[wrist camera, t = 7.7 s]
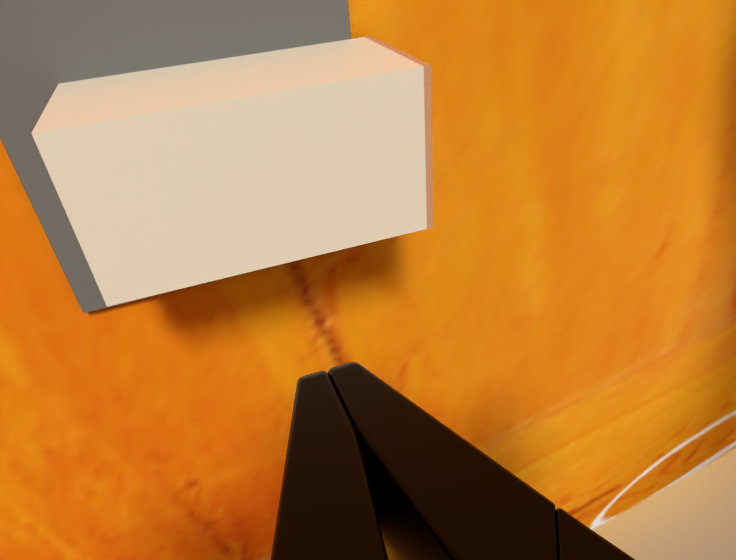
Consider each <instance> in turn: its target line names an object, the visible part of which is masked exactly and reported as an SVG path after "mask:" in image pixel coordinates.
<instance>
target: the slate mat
mask: <svg viewBox="0 0 736 560" xmlns="http://www.w3.org/2000/svg"><path fill="white" fill-rule="evenodd" d="M348 39H351V32H350V21H349V11H348V0H0V138H1V141H2V143H3V145H4V147H5V149H6V151H7V153H8V155H9V157H10V159H11V162H12V164H13V166H14V168H15V170H16V172H17V174H18V176H19V178H20V181H21V183H22V185H23V187H24V189H25V191H26V193H27V195H28V197H29V199H30V202H31V204H32V206H33V208H34V210H35V212H36V214H37V216H38V218H39V220H40V223H41V225H42V227H43V229H44V231H45V233H46V235H47V237H48V239H49V242H50V244H51V246H52V248H53V250H54V252H55V254H56V256H57V258H58V260H59V263H60V265H61V267H62V269H63V271H64V273H65V275H66V277H67V279H68V281H69V284H70V286H71V288H72V290H73V292H74V294H75V296H76V298H77V300H78V302H79V305H80V307H81V309H82V311H83V313H87V312H91V311H95V310H99V309H103V308H107V306H106V303H105V301H104V299H103V296H102V294H101V292H100V290H99V287H98V285H97V283H96V280H95V278H94V276H93V273H92V271H91V269H90V267H89V264H88V262H87V260H86V257H85V255H84V253H83V251H82V248H81V246H80V244H79V241H78V239H77V237H76V234H75V232H74V230H73V228H72V225H71V223H70V221H69V218H68V216H67V214H66V212H65V209H64V207H63V205H62V202H61V200H60V198H59V196H58V193H57V191H56V189H55V186H54V184H53V182H52V179H51V177H50V175H49V173H48V170H47V168H46V166H45V163H44V161H43V159H42V157H41V154H40V152H39V150H38V147H37V145H36V143H35V141H34V138H33V136H32V134H31V133H32V131H33V129H34V127H35V126H36V124H37V122H38V120H39V118H40V116H41V115H42V113H43V111H44V109H45V107H46V106H47V104H48V102H49V100H50V98H51V96H52V95H53V93H54V91H55V89H56V87H57V86H58V84H59V83H66V82H72V81H79V80H85V79H92V78H99V77H105V76H112V75H118V74H125V73H131V72H138V71H144V70H151V69H158V68H164V67H171V66H177V65H184V64H190V63H197V62H204V61H210V60H217V59H223V58H230V57H236V56H243V55H250V54H256V53H263V52H269V51H276V50H282V49H289V48H295V47H302V46H309V45H315V44H322V43H328V42H335V41H341V40H348ZM321 255H322V254H321ZM317 256H318V255H317ZM313 257H314V256H313ZM309 258H310V257H309ZM305 259H306V258H305ZM284 264H285V263H284ZM280 265H281V264H280ZM276 266H277V265H276ZM272 267H273V266H272ZM268 268H269V267H268ZM264 269H265V268H264ZM260 270H261V269H260ZM256 271H257V270H256ZM252 272H253V271H252ZM248 273H249V272H248ZM243 274H245V273H243ZM239 275H241V274H239ZM235 276H237V275H235ZM231 277H233V276H231ZM227 278H228V277H227ZM223 279H224V278H223ZM219 280H220V279H219ZM215 281H216V280H215ZM211 282H212V281H211ZM207 283H208V282H207ZM202 284H204V283H202ZM198 285H200V284H198ZM194 286H196V285H194ZM190 287H192V286H190ZM186 288H188V287H186ZM182 289H184V288H182ZM178 290H180V289H178ZM174 291H176V290H174ZM170 292H172V291H170ZM165 293H168V292H165ZM161 294H164V293H161ZM157 295H160V294H157ZM153 296H156V295H153ZM149 297H151V296H149ZM145 298H147V297H145ZM141 299H143V298H141ZM137 300H139V299H137ZM133 301H135V300H133ZM129 302H131V301H129ZM124 303H127V302H124ZM120 304H123V303H120ZM116 305H119V304H116ZM112 306H115V305H112ZM108 307H111V306H108Z"/></svg>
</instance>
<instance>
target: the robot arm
mask: <svg viewBox="0 0 736 560" xmlns="http://www.w3.org/2000/svg"><path fill="white" fill-rule="evenodd" d="M271 560H635V559H633V558H632V557H630V556H629V555H627V554H626V553H625V552H623V551H622V550H620V549H619V548H617V547H616V546H614V545H613V544H611V543H610V542H608V541H607V540H605V539H604V538H603V537H601V536H599V535H598V534H597V533H595V532H594V531H592V530H591V529H589V528H588V527H586V526H585V525H584V524H582V523H581V522H579V521H578V520H577V519H575V518H574V517H573V516H571V515H570V514H568V513H567V512H566V511H564V510H563V509H561V508H558V509H557V510H556V508H555V504H554V503H553V502H551V501H550V500H549V499H547V498H546V497H544V496H543V495H542V494H540V493H539V492H537V491H536V490H535V489H533V488H532V487H530V486H529V485H528V484H526V483H525V482H523V481H522V480H521V479H519V478H518V477H516V476H515V475H514V474H512V473H511V472H509V471H508V470H507V469H505V468H504V467H502V466H501V465H500V464H498V463H497V462H495V461H494V460H493V459H491V458H490V457H488V456H487V455H486V454H484V453H483V452H481V451H480V450H479V449H477V448H476V447H474V446H473V445H472V444H470V443H469V442H467V441H466V440H465V439H463V438H462V437H460V436H459V435H458V434H456V433H455V432H454V431H452V430H451V429H449V428H448V427H447V426H445V425H444V424H442V423H441V422H440V421H438V420H437V419H435V418H434V417H433V416H431V415H430V414H428V413H427V412H426V411H424V410H423V409H421V408H420V407H419V406H417V405H416V404H414V403H413V402H412V401H410V400H409V399H407V398H406V397H405V396H403V395H402V394H400V393H399V392H398V391H396V390H395V389H393V388H392V387H391V386H389V385H388V384H386V383H385V382H384V381H382V380H381V379H379V378H378V377H377V376H375V375H374V374H372V373H371V372H370V371H368V370H367V369H365V368H364V367H363V366H361V365H360V364H358V363H356V362H350V363H346V364H343V365H340V366H336V367H333V368H331V369H330V370H329V371H328V373H327V372H326V371H319V372H316V373H313V374H309V375H306V376H303V377H300V378H299V380H298V382H297V387H296V394H295V401H294V407H293V414H292V420H291V427H290V434H289V440H288V447H287V454H286V460H285V467H284V474H283V480H282V487H281V494H280V500H279V507H278V513H277V520H276V527H275V533H274V540H273V547H272V553H271Z"/></svg>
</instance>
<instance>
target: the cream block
mask: <svg viewBox="0 0 736 560" xmlns="http://www.w3.org/2000/svg"><path fill="white" fill-rule="evenodd" d="M31 134H32V136H33V138H34V141H35V143H36V145H37V147H38V150H39V152H40V154H41V157H42V159H43V161H44V163H45V166H46V168H47V170H48V173H49V175H50V177H51V179H52V182H53V184H54V186H55V189H56V191H57V193H58V196H59V198H60V200H61V202H62V205H63V207H64V209H65V212H66V214H67V216H68V218H69V221H70V223H71V225H72V228H73V230H74V232H75V234H76V237H77V239H78V241H79V244H80V246H81V248H82V251H83V253H84V255H85V257H86V260H87V262H88V264H89V267H90V269H91V271H92V273H93V276H94V278H95V280H96V283H97V285H98V287H99V290H100V292H101V294H102V296H103V299H104V301H105V303H106V306H107V307H108V306H112V305H116V304H120V303H124V302H129V301H133V300H137V299H141V298H145V297H149V296H153V295H157V294H161V293H165V292H170V291H174V290H178V289H182V288H186V287H190V286H194V285H198V284H202V283H207V282H211V281H215V280H219V279H223V278H227V277H231V276H235V275H239V274H243V273H248V272H252V271H256V270H260V269H264V268H268V267H272V266H276V265H280V264H284V263H289V262H293V261H297V260H301V259H305V258H309V257H313V256H317V255H321V254H326V253H330V252H334V251H338V250H342V249H346V248H350V247H354V246H358V245H362V244H367V243H371V242H375V241H379V240H383V239H387V238H391V237H395V236H399V235H404V234H408V233H412V232H416V231H420V230H424V229H428V228H432V227H433V171H432V90H431V65H430V64H427V63H425V62H423V61H421V60H419V59H417V58H415V57H413V56H411V55H409V54H407V53H405V52H403V51H400V50H398V49H396V48H394V47H392V46H390V45H388V44H386V43H384V42H382V41H380V40H378V39H376V38H373V37H371V36H368V37H361V38H355V39H348V40H341V41H335V42H328V43H322V44H315V45H309V46H302V47H295V48H289V49H282V50H276V51H269V52H263V53H256V54H250V55H243V56H236V57H230V58H223V59H217V60H210V61H204V62H197V63H190V64H184V65H177V66H171V67H164V68H158V69H151V70H144V71H138V72H131V73H125V74H118V75H112V76H105V77H99V78H92V79H85V80H79V81H72V82H66V83H59V84H58V86H57V87H56V89H55V91H54V93H53V95H52V96H51V98H50V100H49V102H48V104H47V106H46V107H45V109H44V111H43V113H42V115H41V116H40V118H39V120H38V122H37V124H36V126H35V127H34V129H33V131H32V133H31Z"/></svg>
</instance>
